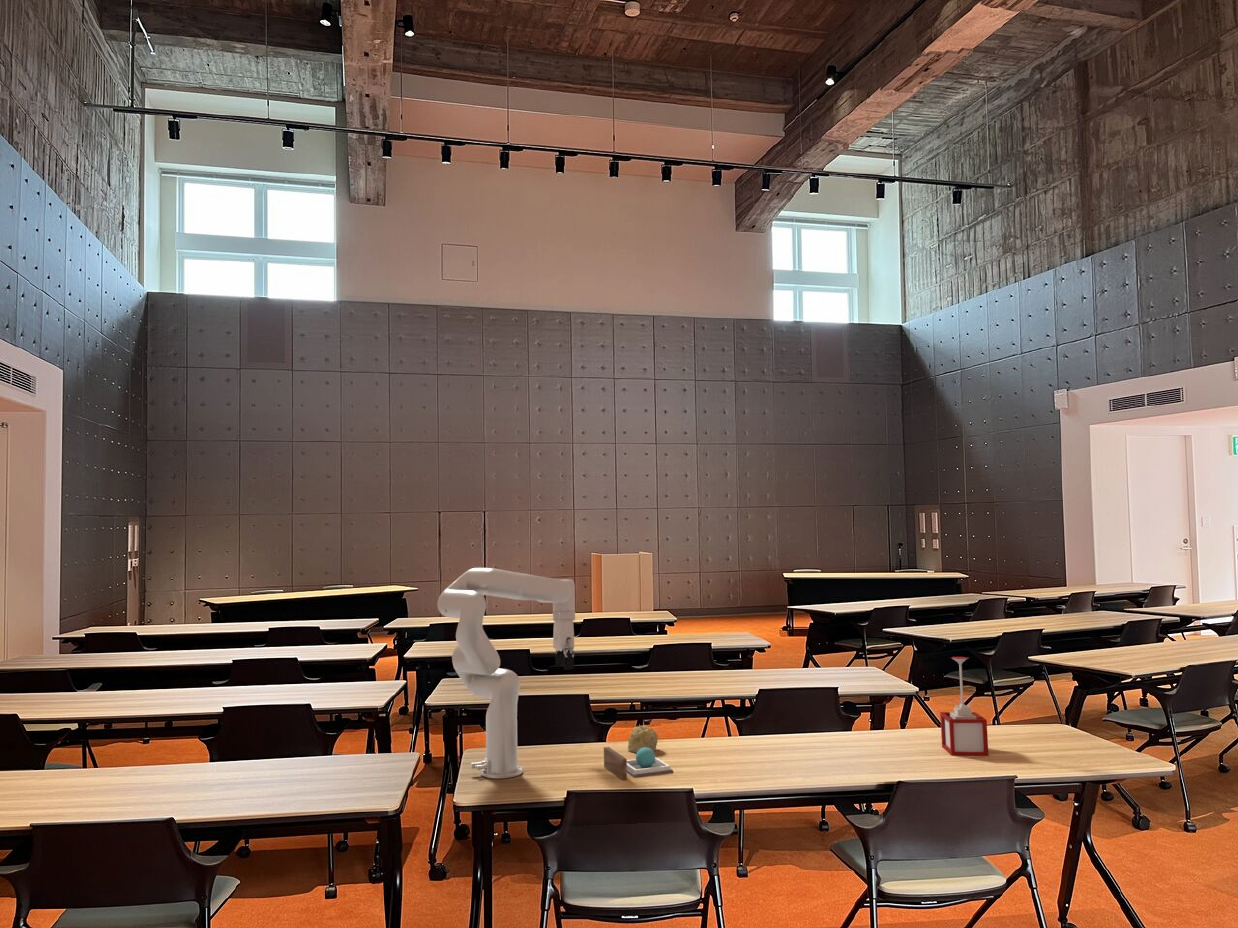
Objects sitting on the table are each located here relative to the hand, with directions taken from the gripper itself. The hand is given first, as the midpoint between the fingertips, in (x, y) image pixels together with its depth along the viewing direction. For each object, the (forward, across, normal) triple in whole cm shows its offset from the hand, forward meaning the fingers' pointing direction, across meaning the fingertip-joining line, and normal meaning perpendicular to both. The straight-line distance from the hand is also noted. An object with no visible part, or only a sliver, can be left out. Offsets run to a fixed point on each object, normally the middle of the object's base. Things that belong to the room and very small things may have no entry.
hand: (564, 667), depth 285 cm
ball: (+25, +29, +17) cm, 42 cm away
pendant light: (+29, +52, +120) cm, 134 cm away
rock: (+29, +7, +25) cm, 39 cm away
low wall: (+28, +29, +7) cm, 41 cm away
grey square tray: (+28, +29, +17) cm, 44 cm away
